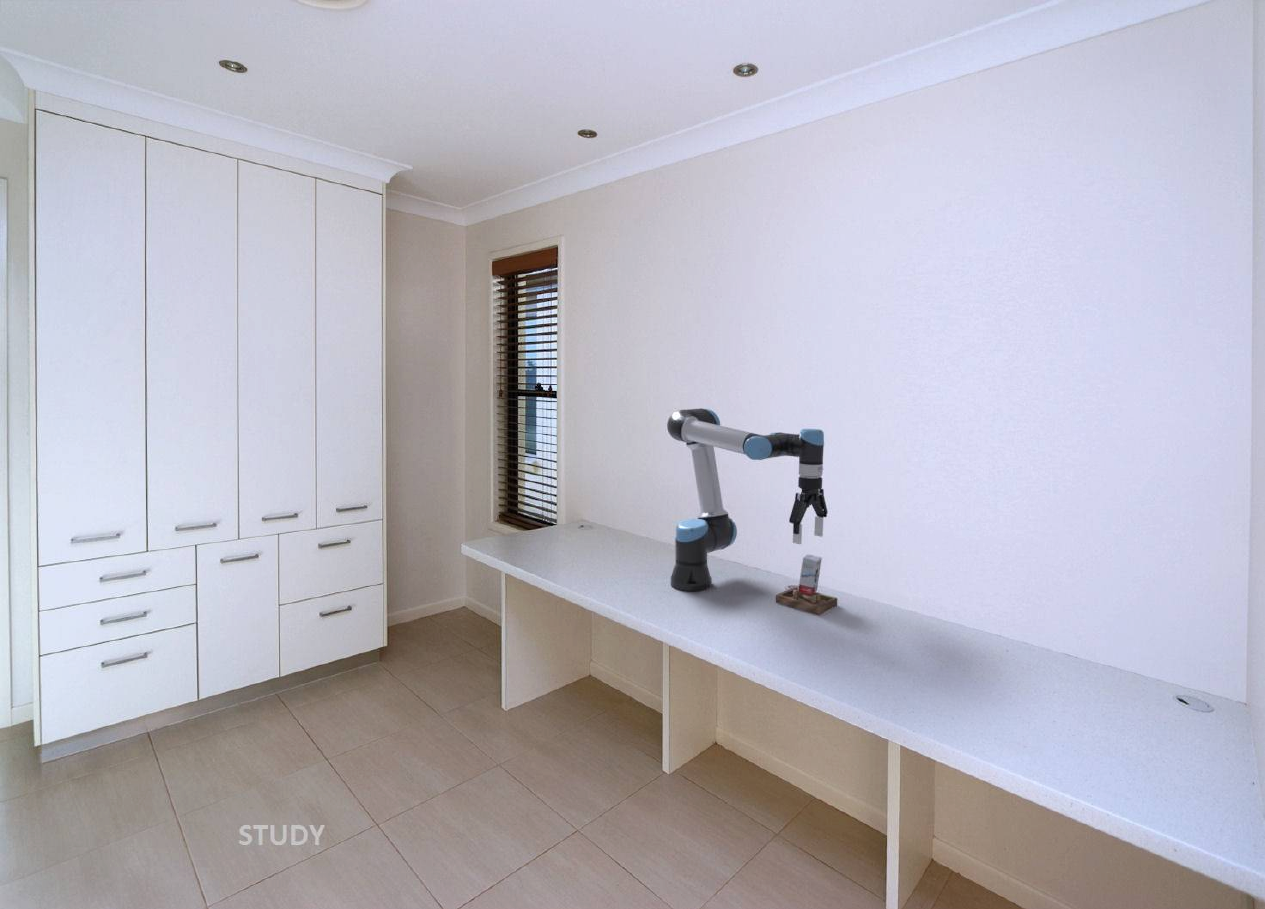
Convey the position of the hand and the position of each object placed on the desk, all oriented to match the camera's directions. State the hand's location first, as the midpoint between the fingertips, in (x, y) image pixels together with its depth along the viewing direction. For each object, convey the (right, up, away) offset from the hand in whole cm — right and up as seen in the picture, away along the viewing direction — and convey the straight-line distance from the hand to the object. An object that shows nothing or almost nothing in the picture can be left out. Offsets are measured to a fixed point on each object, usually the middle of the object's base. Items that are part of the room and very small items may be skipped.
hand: (808, 539), depth 205 cm
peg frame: (0, -22, +3) cm, 22 cm away
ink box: (+1, -18, +2) cm, 18 cm away
